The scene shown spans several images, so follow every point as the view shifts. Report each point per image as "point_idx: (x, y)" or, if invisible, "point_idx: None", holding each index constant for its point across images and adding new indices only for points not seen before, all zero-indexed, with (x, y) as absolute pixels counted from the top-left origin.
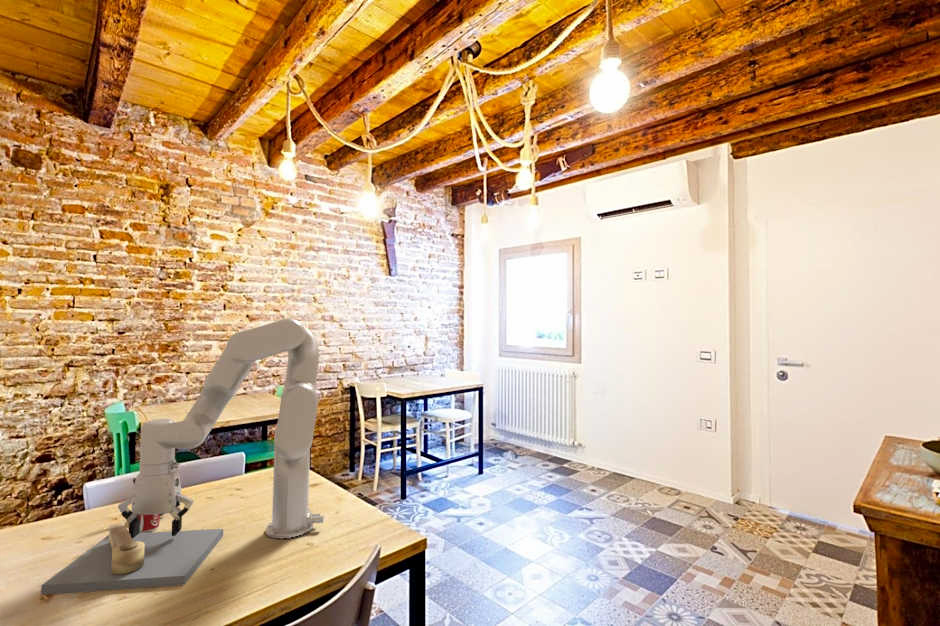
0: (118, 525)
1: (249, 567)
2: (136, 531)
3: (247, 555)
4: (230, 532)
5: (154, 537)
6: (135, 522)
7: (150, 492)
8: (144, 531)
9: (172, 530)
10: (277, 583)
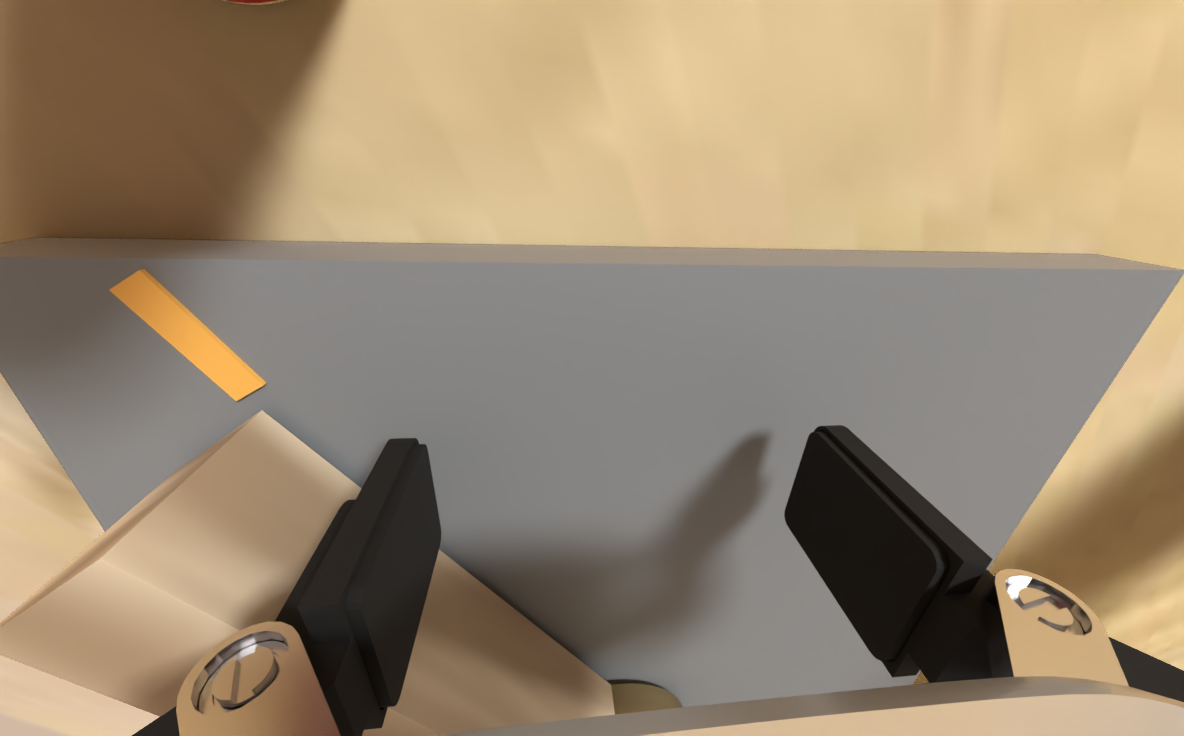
0: (135, 639)
1: (1095, 607)
2: (422, 524)
3: (1130, 524)
4: (1173, 177)
5: (582, 396)
6: (389, 677)
7: None
8: (267, 3)
9: (819, 565)
10: None
